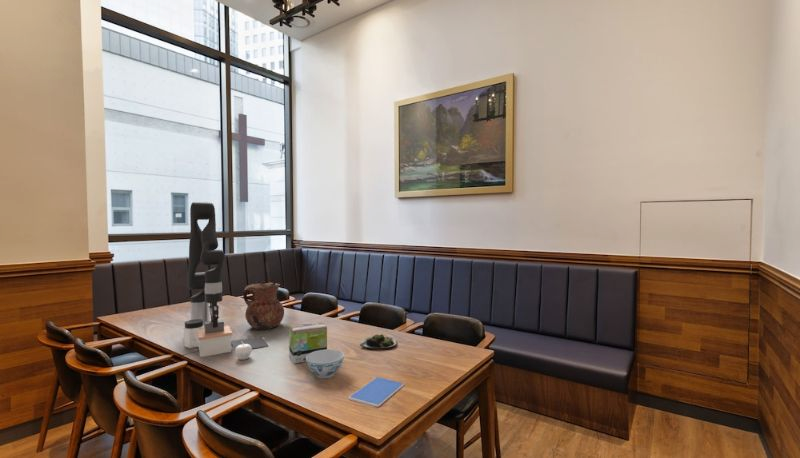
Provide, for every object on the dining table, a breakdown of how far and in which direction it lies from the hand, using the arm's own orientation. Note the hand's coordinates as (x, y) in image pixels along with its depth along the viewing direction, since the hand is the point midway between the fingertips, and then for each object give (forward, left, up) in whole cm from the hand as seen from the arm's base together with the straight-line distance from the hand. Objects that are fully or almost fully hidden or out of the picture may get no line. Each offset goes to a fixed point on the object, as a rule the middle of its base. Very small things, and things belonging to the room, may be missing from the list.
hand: (214, 325), depth 178 cm
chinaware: (+56, +35, -12) cm, 67 cm away
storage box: (0, 0, -12) cm, 12 cm away
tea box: (+34, +35, -12) cm, 50 cm away
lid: (0, 0, -5) cm, 5 cm away
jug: (-28, +29, -12) cm, 42 cm away
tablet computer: (+80, +46, -13) cm, 93 cm away
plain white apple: (+19, +10, -12) cm, 25 cm away
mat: (0, +15, -12) cm, 20 cm away
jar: (-14, -8, -12) cm, 20 cm away
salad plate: (+36, +70, -13) cm, 80 cm away
